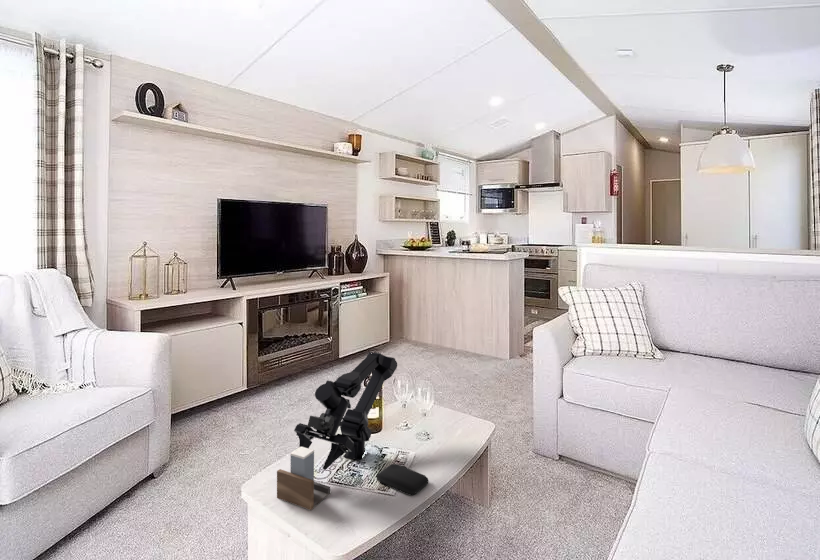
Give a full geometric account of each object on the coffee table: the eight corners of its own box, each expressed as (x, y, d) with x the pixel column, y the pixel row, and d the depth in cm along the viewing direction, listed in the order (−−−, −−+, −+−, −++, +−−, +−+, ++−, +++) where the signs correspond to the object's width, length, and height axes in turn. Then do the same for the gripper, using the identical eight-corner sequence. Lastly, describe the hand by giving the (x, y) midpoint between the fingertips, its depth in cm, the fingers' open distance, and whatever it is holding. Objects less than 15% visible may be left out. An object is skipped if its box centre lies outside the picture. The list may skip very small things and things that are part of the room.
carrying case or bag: (433, 483, 139) (394, 467, 148) (433, 473, 139) (394, 458, 147) (413, 499, 131) (373, 482, 139) (413, 489, 130) (373, 472, 139)
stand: (297, 482, 137) (297, 457, 136) (330, 493, 132) (330, 467, 131) (276, 497, 129) (276, 470, 128) (310, 510, 124) (311, 482, 123)
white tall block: (300, 488, 133) (300, 446, 131) (313, 493, 131) (314, 450, 129) (290, 497, 128) (290, 453, 127) (303, 501, 126) (303, 457, 125)
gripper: (297, 397, 139) (272, 447, 131) (348, 410, 131) (325, 464, 122) (314, 413, 147) (291, 460, 139) (363, 425, 139) (342, 477, 130)
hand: (311, 465), depth 132 cm, fingers open, 9 cm apart
